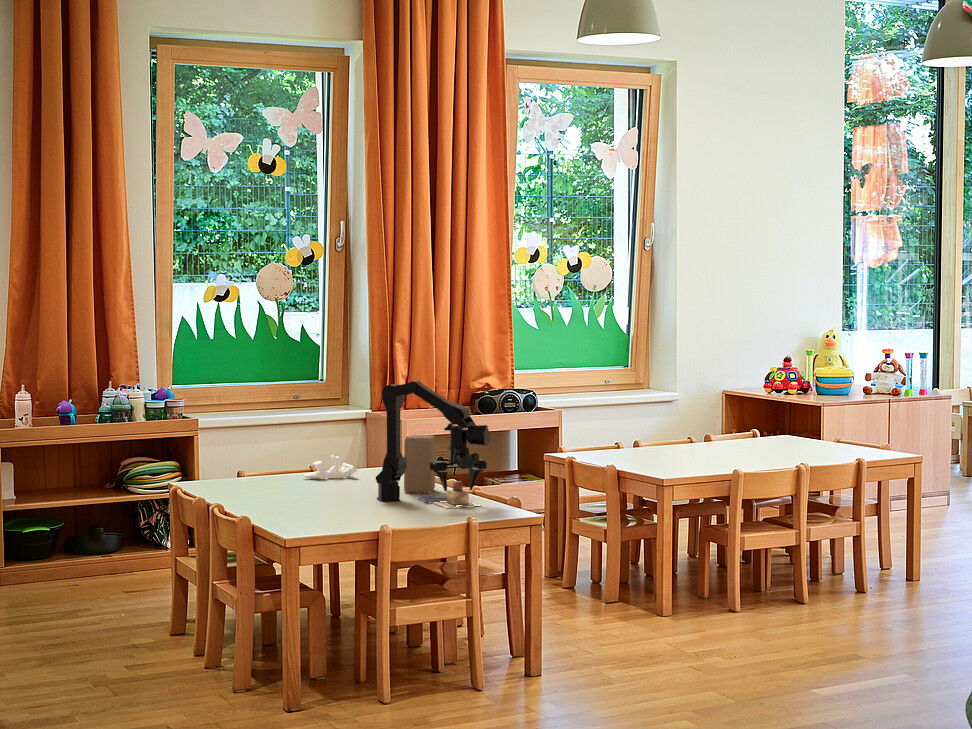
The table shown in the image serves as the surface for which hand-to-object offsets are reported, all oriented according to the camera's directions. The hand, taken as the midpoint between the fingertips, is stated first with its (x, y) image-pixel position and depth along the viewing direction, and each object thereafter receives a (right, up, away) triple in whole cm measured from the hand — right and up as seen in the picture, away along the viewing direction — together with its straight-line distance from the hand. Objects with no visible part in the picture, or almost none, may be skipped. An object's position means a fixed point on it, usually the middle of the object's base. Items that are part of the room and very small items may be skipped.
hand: (458, 490), depth 382 cm
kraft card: (0, -5, 0) cm, 5 cm away
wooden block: (-15, -4, +29) cm, 33 cm away
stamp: (0, -5, 0) cm, 5 cm away
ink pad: (-8, -5, +8) cm, 12 cm away
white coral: (-52, -2, +61) cm, 80 cm away
